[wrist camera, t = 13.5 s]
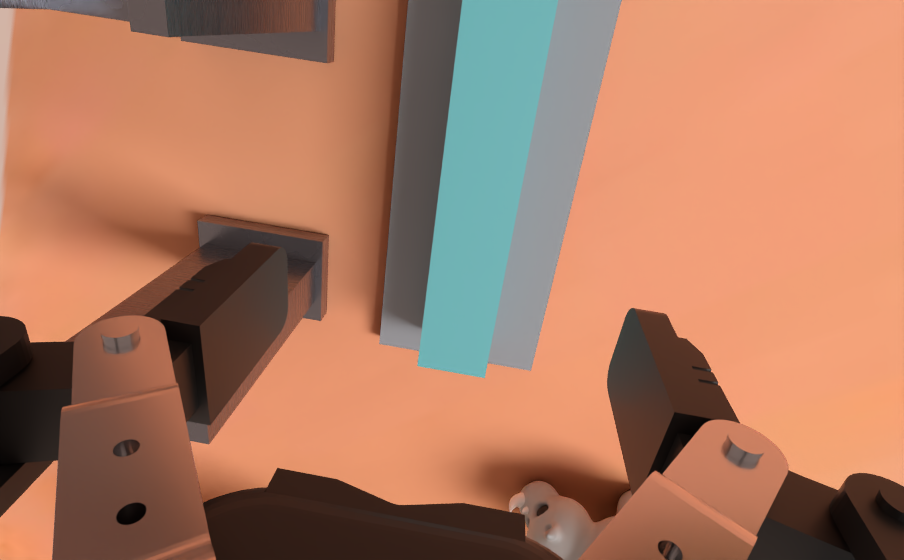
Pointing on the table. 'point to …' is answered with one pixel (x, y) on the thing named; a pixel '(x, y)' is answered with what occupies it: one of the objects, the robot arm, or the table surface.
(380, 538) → the robot arm
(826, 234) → the table surface
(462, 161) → the rail bar
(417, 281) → the rubber mat
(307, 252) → the bracket stand
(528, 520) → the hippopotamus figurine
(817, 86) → the table surface
